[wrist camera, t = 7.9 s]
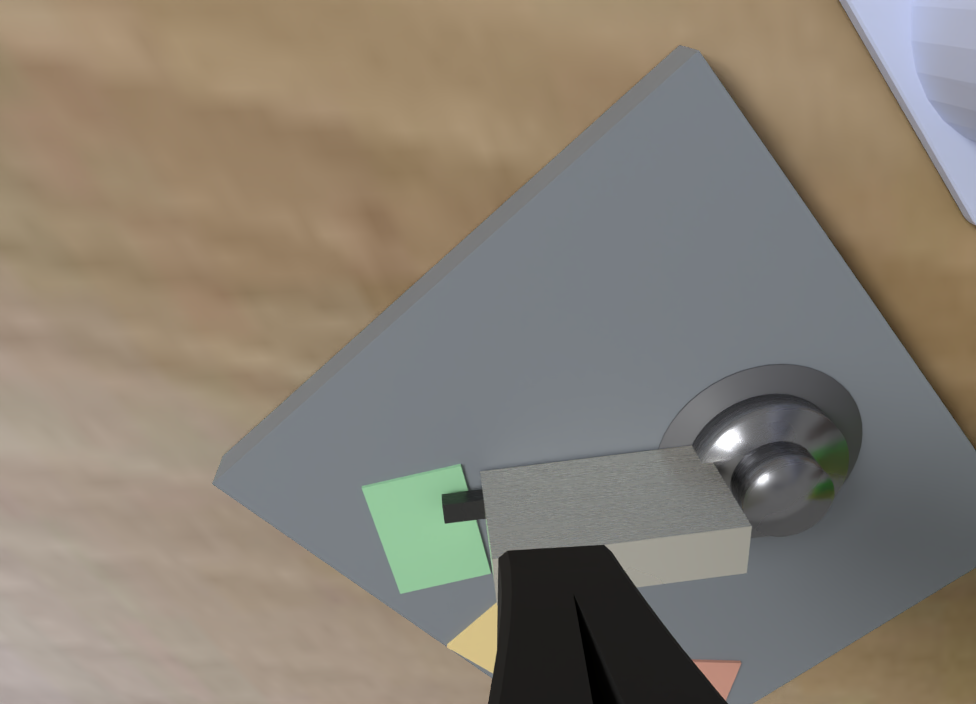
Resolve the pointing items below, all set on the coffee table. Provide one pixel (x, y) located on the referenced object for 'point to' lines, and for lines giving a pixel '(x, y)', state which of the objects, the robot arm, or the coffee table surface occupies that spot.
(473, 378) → the tuner board
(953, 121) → the robot arm
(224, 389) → the coffee table surface
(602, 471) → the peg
